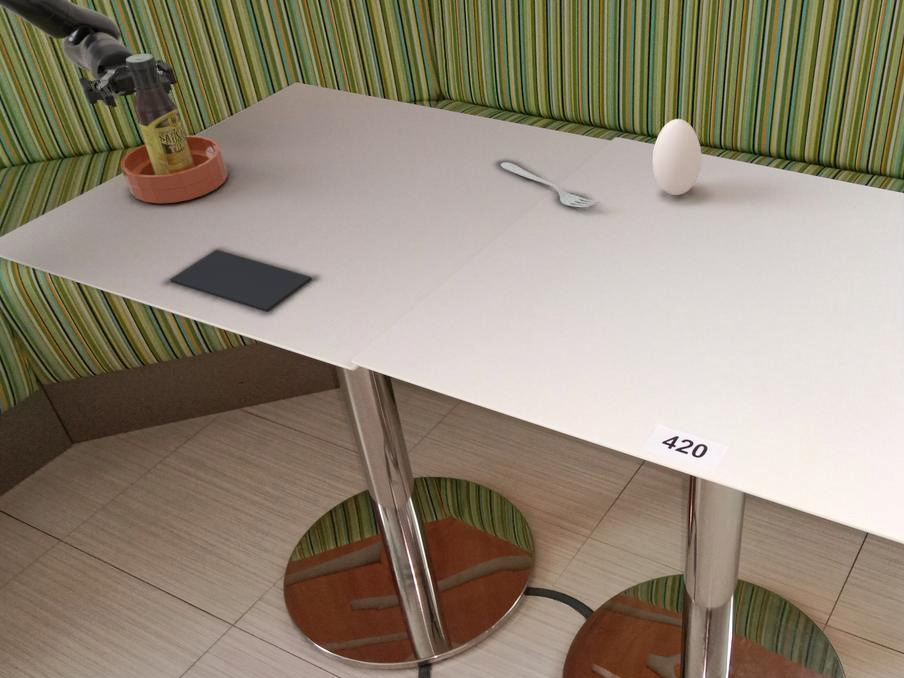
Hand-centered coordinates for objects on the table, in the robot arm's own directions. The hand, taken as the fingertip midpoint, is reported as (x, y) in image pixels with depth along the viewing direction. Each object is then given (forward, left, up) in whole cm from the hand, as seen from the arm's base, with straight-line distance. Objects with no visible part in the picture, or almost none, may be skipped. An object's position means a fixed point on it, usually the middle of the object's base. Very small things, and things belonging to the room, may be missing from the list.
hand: (139, 94), depth 157 cm
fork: (+57, -35, -12) cm, 68 cm away
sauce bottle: (+2, -9, -12) cm, 15 cm away
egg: (+75, -45, -12) cm, 88 cm away
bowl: (+2, -9, -12) cm, 15 cm away
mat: (+9, -44, -12) cm, 47 cm away
